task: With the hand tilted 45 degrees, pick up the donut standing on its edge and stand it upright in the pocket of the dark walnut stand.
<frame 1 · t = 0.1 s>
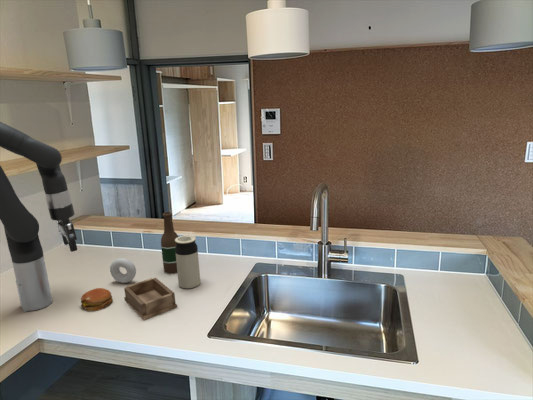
hand: (70, 247, 144), 17 cm above the worktop, tool pointing down, fingers open, 8 cm apart
walnut stand: (150, 303, 139), on the worktop
travel mug: (189, 284, 152), on the worktop
beer bottle: (173, 270, 164), on the worktop
donut: (124, 283, 155), on the worktop
burger: (97, 305, 140), on the worktop
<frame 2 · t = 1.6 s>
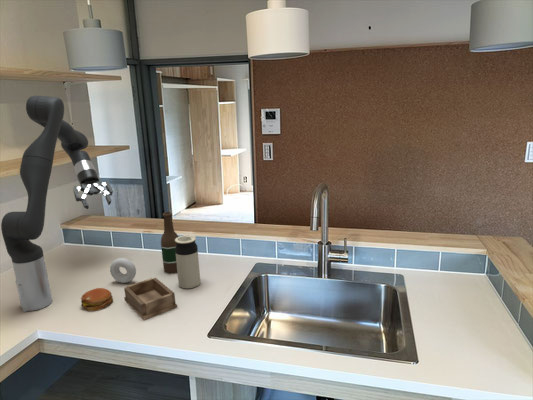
hand: (98, 205, 163), 26 cm above the worktop, tool tilted 45°, fingers open, 8 cm apart
nothing on the worktop moved.
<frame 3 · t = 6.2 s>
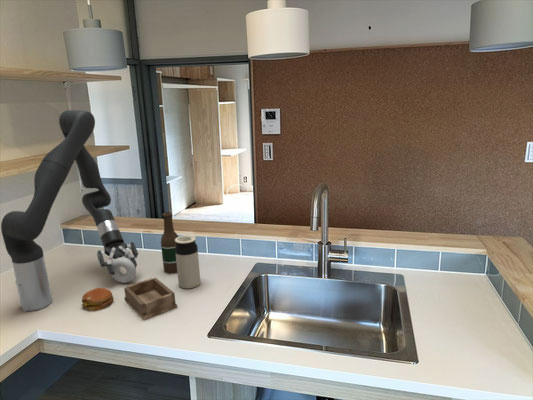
hand: (124, 271, 152), 5 cm above the worktop, tool tilted 45°, fingers closed on donut, 7 cm apart
donut: (124, 282, 155), on the worktop, touching gripper
everything else where it was.
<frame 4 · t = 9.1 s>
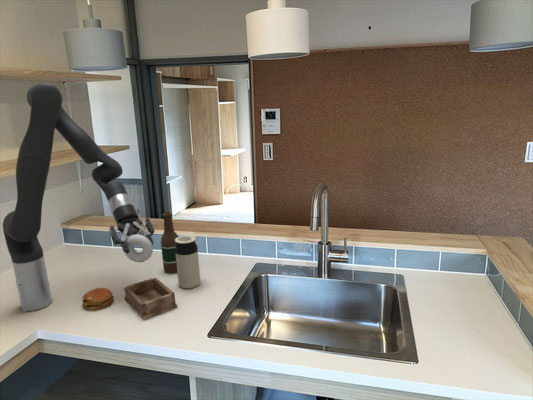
hand: (139, 249, 137), 18 cm above the worktop, tool tilted 45°, fingers closed on donut, 7 cm apart
donut: (140, 262, 140), point 13 cm above the worktop, touching gripper
everything else where it was.
when the fingers open (8 cm above the worktop, at t = 12.2 s): donut drops 2 cm, resting on walnut stand.
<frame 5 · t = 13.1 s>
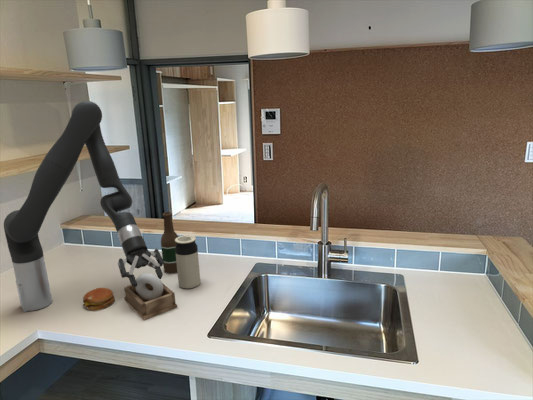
hand: (148, 282, 135), 8 cm above the worktop, tool tilted 45°, fingers open, 8 cm apart
donut: (151, 300, 139), point 1 cm above the worktop, touching walnut stand
everything else where it was.
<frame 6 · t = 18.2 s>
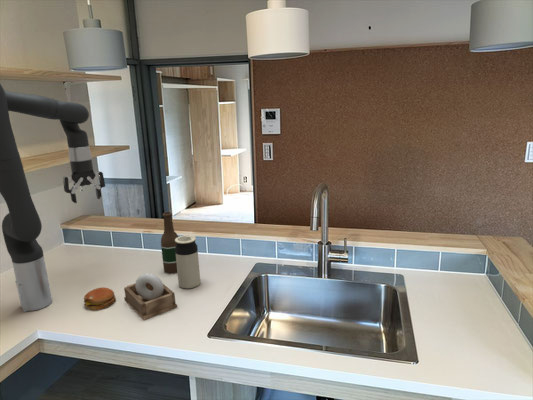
hand: (87, 200, 156), 30 cm above the worktop, tool pointing down, fingers open, 8 cm apart
nothing on the worktop moved.
at the end: donut inside the target area on the walnut stand (0.4 cm from its centre), point 0.8 cm above the walnut stand's base; donut tilted 0°; the gripper is holding nothing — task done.
